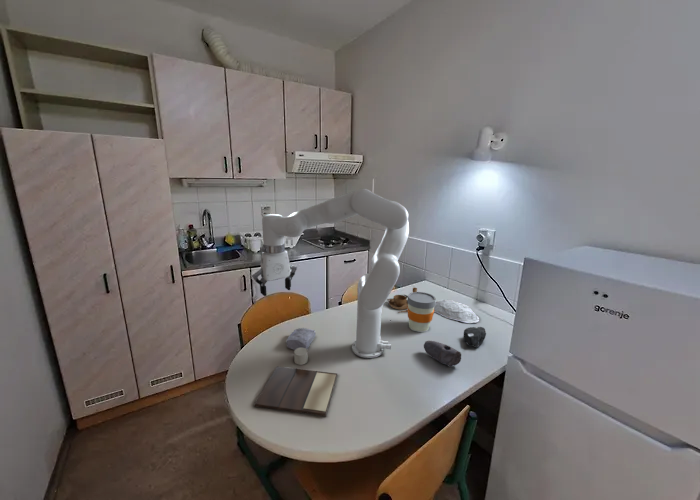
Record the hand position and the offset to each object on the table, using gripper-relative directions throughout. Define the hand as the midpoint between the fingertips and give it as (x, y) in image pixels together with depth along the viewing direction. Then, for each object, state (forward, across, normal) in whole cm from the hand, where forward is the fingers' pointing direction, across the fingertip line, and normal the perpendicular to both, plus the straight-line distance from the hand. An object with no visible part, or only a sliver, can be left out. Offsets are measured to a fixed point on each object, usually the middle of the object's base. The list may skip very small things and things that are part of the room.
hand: (276, 291), depth 113 cm
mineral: (+24, +69, -44) cm, 85 cm away
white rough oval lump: (+24, +86, -24) cm, 92 cm away
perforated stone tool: (+24, +46, -43) cm, 68 cm away
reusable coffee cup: (+24, +60, -22) cm, 68 cm away
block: (+24, +9, -2) cm, 26 cm away
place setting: (+24, +73, -3) cm, 77 cm away
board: (+24, -5, -26) cm, 36 cm away
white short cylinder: (+24, +3, -13) cm, 27 cm away
